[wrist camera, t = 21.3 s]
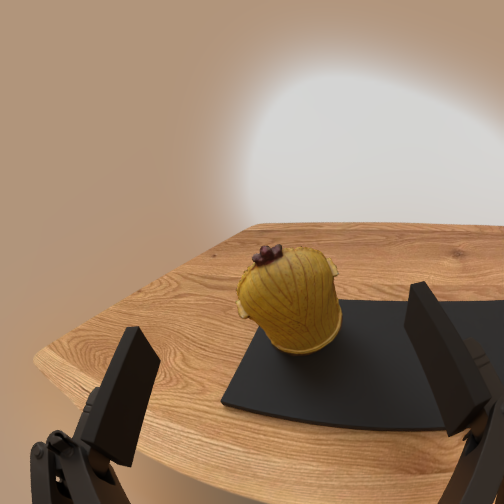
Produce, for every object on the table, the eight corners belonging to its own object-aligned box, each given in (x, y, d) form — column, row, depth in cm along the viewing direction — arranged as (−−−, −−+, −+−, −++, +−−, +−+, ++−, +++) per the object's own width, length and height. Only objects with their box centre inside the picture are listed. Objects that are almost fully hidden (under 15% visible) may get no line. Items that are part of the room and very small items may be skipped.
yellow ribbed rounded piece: (343, 393, 22) (342, 247, 14) (254, 393, 24) (201, 259, 17) (342, 308, 31) (332, 181, 24) (273, 311, 34) (245, 192, 26)
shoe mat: (222, 404, 24) (220, 400, 24) (274, 300, 37) (273, 295, 36) (581, 400, 7) (585, 396, 7) (548, 301, 20) (550, 297, 19)
